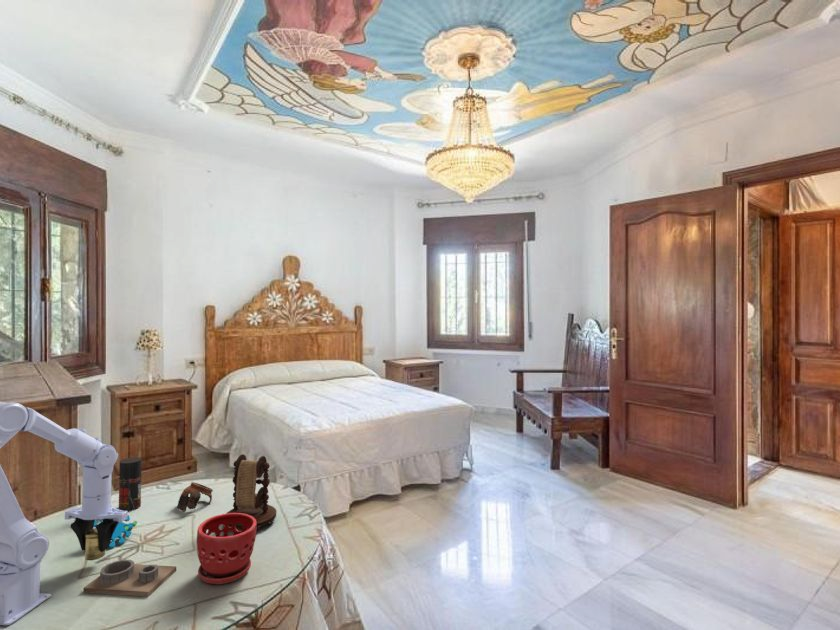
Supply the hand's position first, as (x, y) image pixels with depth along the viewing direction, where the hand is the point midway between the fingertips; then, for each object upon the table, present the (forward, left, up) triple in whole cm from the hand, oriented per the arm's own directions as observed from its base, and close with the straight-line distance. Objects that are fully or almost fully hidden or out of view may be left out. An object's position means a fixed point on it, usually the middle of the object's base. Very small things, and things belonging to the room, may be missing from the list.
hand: (95, 549), depth 109 cm
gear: (+11, +4, -4) cm, 13 cm away
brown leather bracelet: (+35, -5, -5) cm, 35 cm away
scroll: (+26, -27, -4) cm, 38 cm away
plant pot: (0, -33, -4) cm, 33 cm away
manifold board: (-5, -13, -4) cm, 14 cm away
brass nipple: (0, 0, -2) cm, 2 cm away
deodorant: (+32, +15, -4) cm, 36 cm away
